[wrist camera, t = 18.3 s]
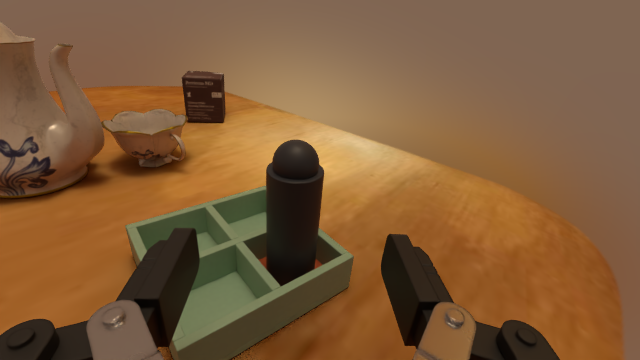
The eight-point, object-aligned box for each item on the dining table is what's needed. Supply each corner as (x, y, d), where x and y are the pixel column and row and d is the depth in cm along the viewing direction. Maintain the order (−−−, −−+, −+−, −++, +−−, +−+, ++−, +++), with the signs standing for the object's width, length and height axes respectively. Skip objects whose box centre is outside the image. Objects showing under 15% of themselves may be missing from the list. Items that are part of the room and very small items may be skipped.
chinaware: (208, 158, 44) (201, 28, 38) (153, 215, 28) (125, 10, 22) (-1, 145, 42) (-45, 6, 36) (-180, 197, 27) (-311, -29, 21)
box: (186, 122, 52) (180, 77, 48) (191, 112, 57) (187, 70, 54) (224, 123, 53) (221, 78, 50) (226, 113, 58) (223, 72, 55)
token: (323, 277, 23) (339, 146, 18) (283, 299, 21) (288, 158, 16) (296, 250, 25) (303, 128, 20) (257, 268, 23) (255, 136, 18)
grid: (348, 287, 23) (354, 256, 22) (184, 387, 16) (176, 351, 15) (267, 211, 31) (267, 184, 29) (133, 256, 24) (124, 225, 22)
